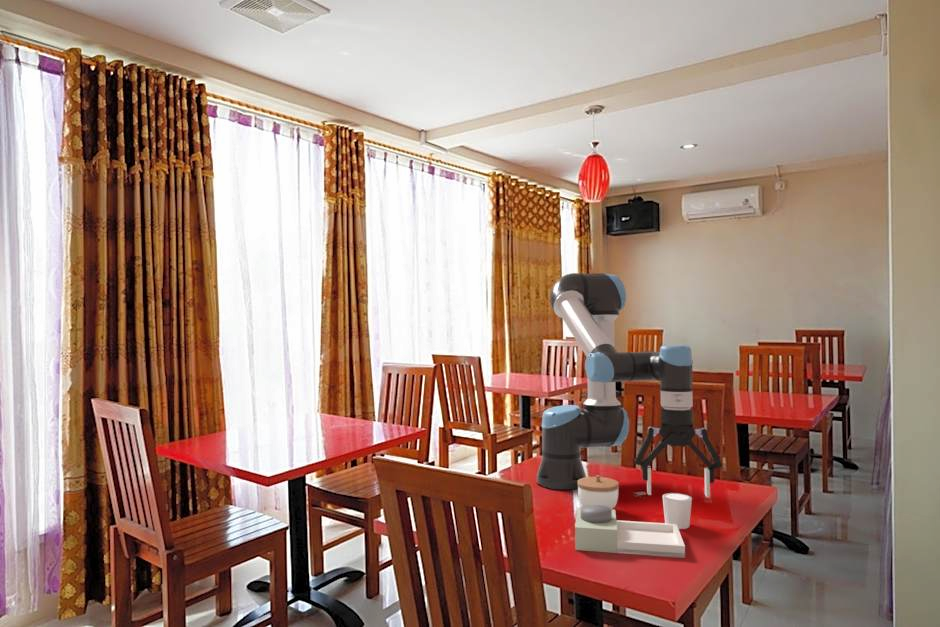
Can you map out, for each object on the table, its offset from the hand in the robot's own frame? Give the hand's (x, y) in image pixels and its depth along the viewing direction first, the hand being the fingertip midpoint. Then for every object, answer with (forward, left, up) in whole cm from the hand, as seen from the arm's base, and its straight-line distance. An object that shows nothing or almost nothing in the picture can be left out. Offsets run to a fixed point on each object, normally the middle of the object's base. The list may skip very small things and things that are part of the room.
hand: (678, 494), depth 150 cm
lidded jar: (-7, -19, -8) cm, 22 cm away
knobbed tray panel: (+14, -13, -7) cm, 20 cm away
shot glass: (0, 0, -8) cm, 8 cm away
